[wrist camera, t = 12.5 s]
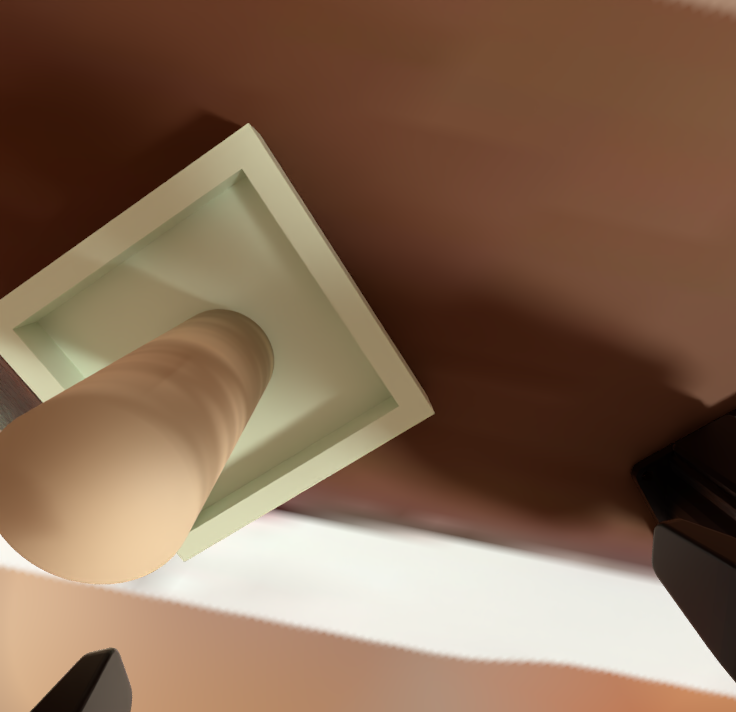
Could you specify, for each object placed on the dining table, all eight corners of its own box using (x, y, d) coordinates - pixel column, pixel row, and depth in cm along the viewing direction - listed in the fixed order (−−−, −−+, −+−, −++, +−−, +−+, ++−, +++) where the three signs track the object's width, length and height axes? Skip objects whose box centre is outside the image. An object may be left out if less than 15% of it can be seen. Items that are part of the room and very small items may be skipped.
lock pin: (294, 373, 19) (235, 523, 10) (213, 423, 20) (79, 615, 10) (234, 289, 18) (101, 361, 9) (150, 344, 19) (-64, 471, 9)
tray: (427, 395, 20) (435, 413, 18) (199, 532, 22) (184, 561, 20) (260, 134, 17) (248, 122, 15) (9, 310, 19) (-30, 320, 17)
